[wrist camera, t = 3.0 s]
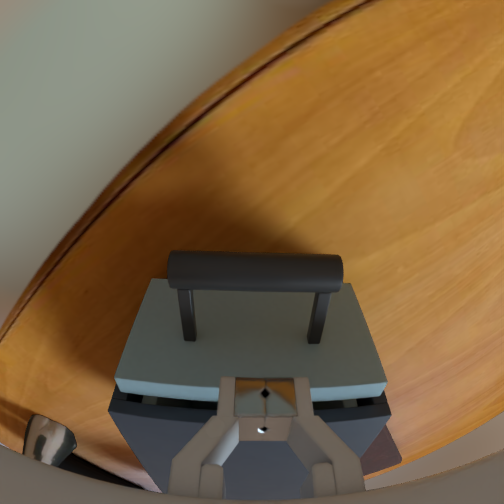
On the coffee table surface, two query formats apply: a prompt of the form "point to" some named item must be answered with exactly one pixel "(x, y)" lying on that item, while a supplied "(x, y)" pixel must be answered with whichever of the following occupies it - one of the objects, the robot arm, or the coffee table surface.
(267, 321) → the drawer
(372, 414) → the cabinet
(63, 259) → the coffee table surface
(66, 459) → the portable speaker
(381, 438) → the brown leather sleeve case
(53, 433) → the figurine
